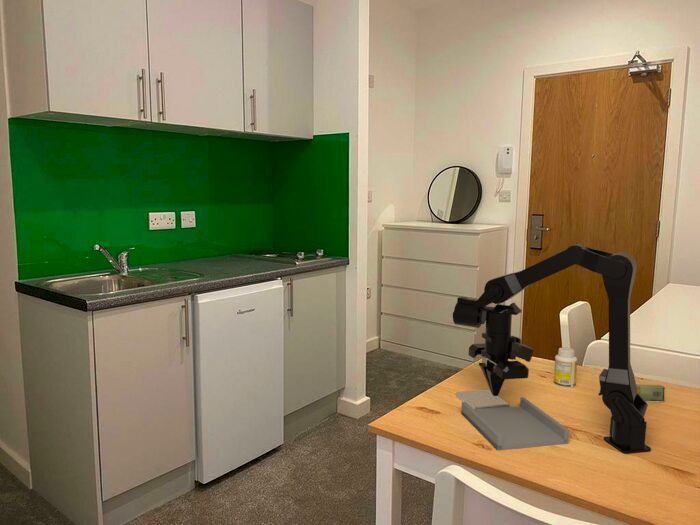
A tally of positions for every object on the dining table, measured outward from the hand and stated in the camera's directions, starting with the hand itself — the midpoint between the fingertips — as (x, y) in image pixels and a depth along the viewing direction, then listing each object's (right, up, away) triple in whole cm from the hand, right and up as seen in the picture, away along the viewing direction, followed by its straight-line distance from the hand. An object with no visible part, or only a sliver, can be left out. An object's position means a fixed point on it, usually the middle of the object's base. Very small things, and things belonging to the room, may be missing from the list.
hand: (495, 395), depth 126 cm
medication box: (+39, -4, +10) cm, 40 cm away
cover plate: (-1, -4, +7) cm, 8 cm away
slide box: (+2, -5, -7) cm, 9 cm away
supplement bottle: (+24, -2, +20) cm, 31 cm away
